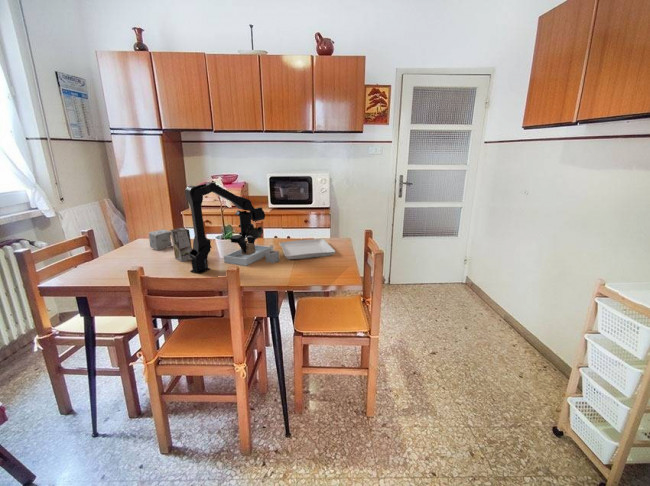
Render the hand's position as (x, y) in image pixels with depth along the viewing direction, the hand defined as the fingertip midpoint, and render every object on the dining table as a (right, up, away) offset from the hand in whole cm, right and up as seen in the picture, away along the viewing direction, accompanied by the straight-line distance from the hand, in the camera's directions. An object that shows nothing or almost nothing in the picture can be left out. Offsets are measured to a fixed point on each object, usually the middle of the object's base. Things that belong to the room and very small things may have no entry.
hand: (248, 251), depth 158 cm
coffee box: (-35, -4, +2) cm, 35 cm away
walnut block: (0, -1, 0) cm, 1 cm away
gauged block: (+14, -5, -5) cm, 15 cm away
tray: (0, -3, +1) cm, 4 cm away
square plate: (+30, -1, +9) cm, 32 cm away
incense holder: (-58, +1, +22) cm, 62 cm away
